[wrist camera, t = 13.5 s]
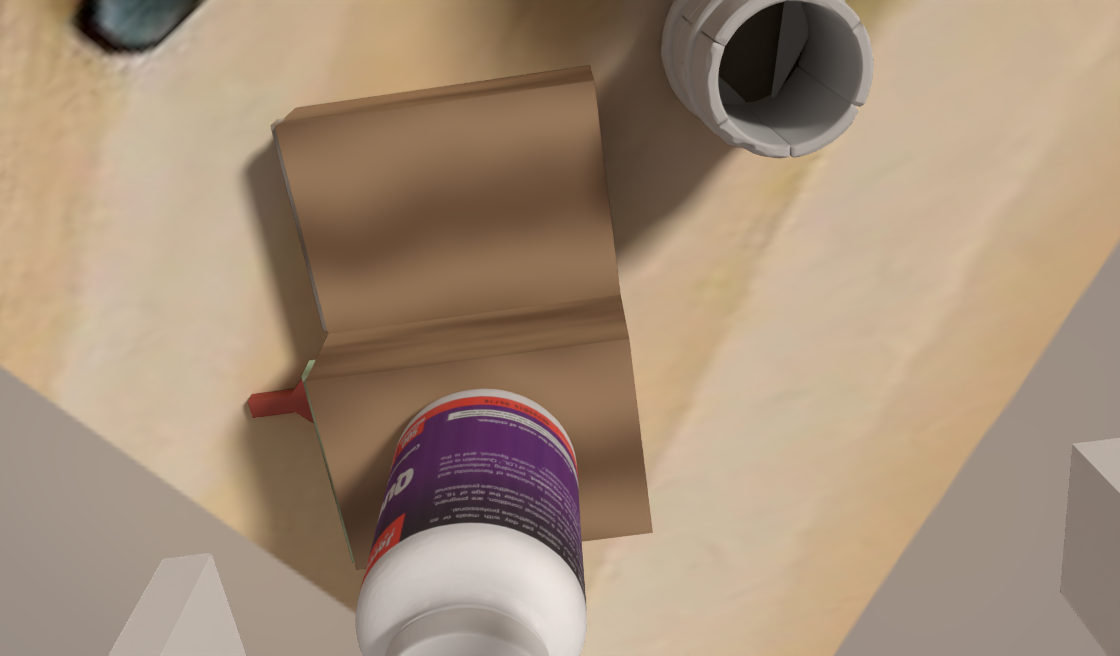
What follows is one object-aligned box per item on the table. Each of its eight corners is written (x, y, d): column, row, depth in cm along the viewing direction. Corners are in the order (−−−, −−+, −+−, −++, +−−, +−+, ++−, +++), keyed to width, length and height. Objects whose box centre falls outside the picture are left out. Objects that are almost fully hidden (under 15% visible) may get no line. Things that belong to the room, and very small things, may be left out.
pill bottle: (396, 373, 42) (331, 591, 29) (583, 383, 43) (602, 603, 30) (396, 530, 46) (337, 790, 33) (569, 538, 46) (581, 798, 33)
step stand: (171, 125, 47) (93, 175, 39) (590, 65, 46) (600, 103, 38) (278, 481, 55) (231, 585, 47) (635, 435, 54) (652, 532, 46)
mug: (632, 90, 47) (661, 152, 36) (734, -174, 42) (803, -196, 31) (779, 144, 48) (851, 220, 37) (893, -107, 43) (1013, -106, 32)
